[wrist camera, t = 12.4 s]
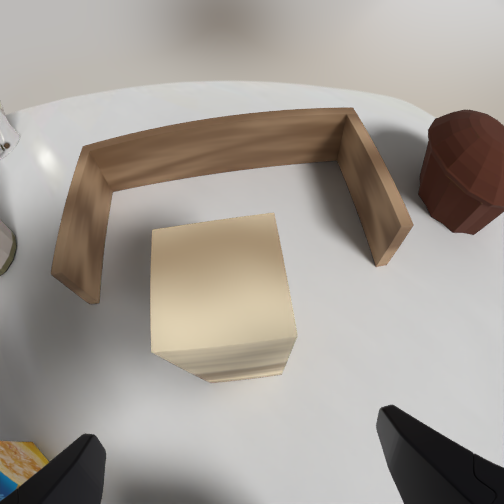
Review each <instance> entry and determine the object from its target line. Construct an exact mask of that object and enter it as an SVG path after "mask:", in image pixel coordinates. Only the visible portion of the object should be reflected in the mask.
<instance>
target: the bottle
mask: <svg viewBox="0 0 504 504" xmlns="http://www.w3.org/2000/svg"><path fill="white" fill-rule="evenodd" d="M15 250H16V240H15V236H14V234H13V233H12V231H11V230H10V229H9V228H8V227H7V226H6V225H5V224H4V223H3V222H2V221H1V220H0V276H1V275H2V274H3V273H4V272H6V270H7V268H8V267H9V265H10V264H11V262H12V260H13V258H14V254H15Z"/></svg>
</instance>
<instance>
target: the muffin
mask: <svg viewBox="0 0 504 504" xmlns="http://www.w3.org/2000/svg"><path fill="white" fill-rule="evenodd" d="M428 138H429V141H428V146H427V150H426V154H425V158H424V162H423V165H422V169H421V173H420V188H419V193H418V195H419V196H420V198H421V199H422V200H423V202H424V203H425V205H426V207H427V209H428V211H429V213H430V215H431V217H433V218H434V219H436V220H437V221H439V222H441V223H442V224H443V225H445V226H446V227H447V228H448V229H449V230H450V231H452V232H453V233H467V234H472V235H474V234H476V233H477V232H478V231H480V230H481V229H482V228H484V227H485V226H486V225H487V224H489V223H490V222H491V221H493V220H494V219H495V218H496V217H498V216H499V215H500V214H501V213H503V212H504V126H503V125H502V124H501V123H500V122H499V121H498V120H496V119H494V118H493V117H491V116H489V115H488V114H485V113H481V112H477V111H472V110H461V111H457V112H453V113H450V114H447V115H444V116H442V117H439V118H436V119H435V120H434V121H433V123H432V125H431V126H430V128H429V129H428Z"/></svg>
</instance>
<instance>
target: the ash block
mask: <svg viewBox="0 0 504 504" xmlns="http://www.w3.org/2000/svg"><path fill="white" fill-rule="evenodd" d="M150 321H151V352H152V353H154V354H155V355H157V356H159V357H161V358H163V359H165V360H166V361H168V362H170V363H172V364H174V365H176V366H178V367H180V368H182V369H183V370H185V371H187V372H189V373H191V374H193V375H195V376H197V377H199V378H201V379H203V380H205V381H207V382H210V383H216V382H227V381H236V380H245V379H253V378H261V377H268V376H275V375H282V372H283V370H284V368H285V365H286V363H287V361H288V358H289V356H290V353H291V351H292V348H293V346H294V343H295V341H296V338H297V330H296V324H295V319H294V313H293V308H292V302H291V297H290V292H289V286H288V281H287V276H286V270H285V265H284V260H283V255H282V250H281V245H280V240H279V235H278V230H277V225H276V220H275V215H274V213H267V214H259V215H252V216H244V217H236V218H229V219H222V220H215V221H207V222H200V223H194V224H187V225H180V226H173V227H167V228H160V229H154V230H152V245H151V279H150Z"/></svg>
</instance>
